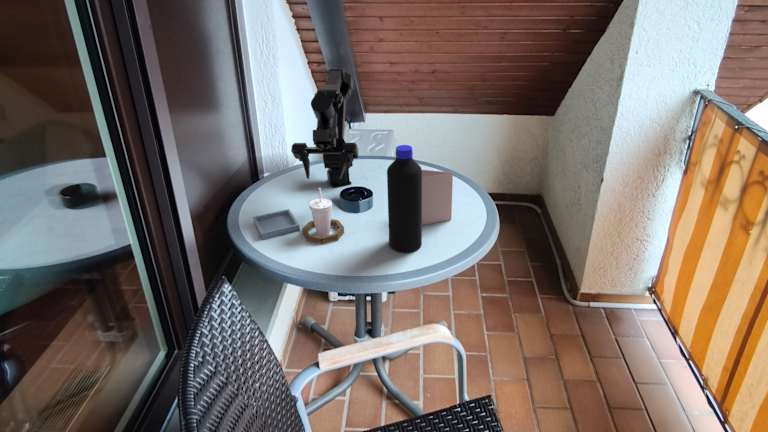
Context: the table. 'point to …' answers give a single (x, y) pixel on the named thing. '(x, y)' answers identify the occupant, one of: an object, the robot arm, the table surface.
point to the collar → (325, 238)
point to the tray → (276, 224)
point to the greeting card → (436, 196)
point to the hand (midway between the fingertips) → (323, 178)
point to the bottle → (404, 201)
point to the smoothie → (321, 214)
